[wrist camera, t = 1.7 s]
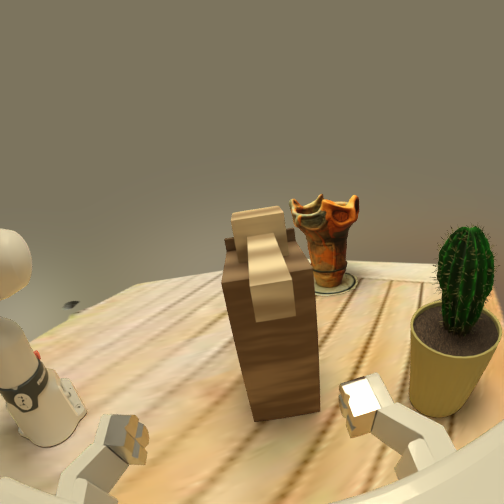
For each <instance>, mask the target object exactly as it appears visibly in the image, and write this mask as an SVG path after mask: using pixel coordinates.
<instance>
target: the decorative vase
mask: <svg viewBox="0 0 504 504" xmlns="http://www.w3.org/2000/svg"><path fill="white" fill-rule="evenodd" d="M289 206H290V209H291V213H292V216H293V222H294V225H295V226H296V227H298V228H299V229H300V230H301V231H302V232H303V233H304V234H305V235H306V239H307V242H308V250H309V255H310V259H311V266H312V268H313V274H314V286H315V295H322V296H330V295H337V294H342V293H345V292H347V291H350V290H352V289H355V285H357V282H358V281H357V280H358V279H357V277H356V275H351V274H348V273H345V271H346V267H347V261H346V248H347V237H348V230H349V228H350V227H351V225H352V224H353V223H354V222H356V221H357V218H358V213H359V198H358V197H357V196H356V195H353V196H352V198H351V199H350V200H349V202H333V201H330V200H324V198H323V194H320V195H319V196H318V198H317V199H316V200H315V201H313V202H312V203H309V204H307V205H305V206H301V205H300V204H299V203H298V202H297V201H296V200H295V199H291V200H290V202H289Z"/></svg>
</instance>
